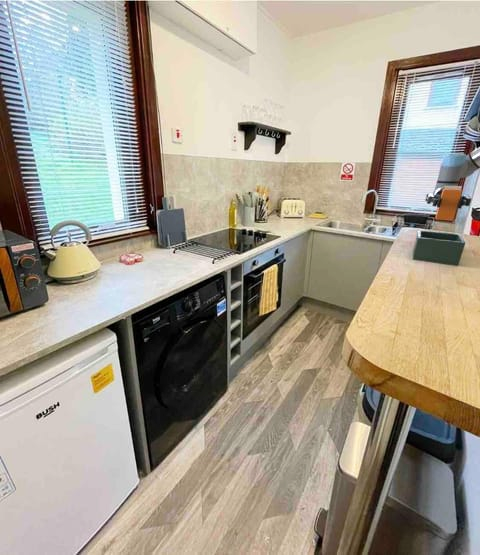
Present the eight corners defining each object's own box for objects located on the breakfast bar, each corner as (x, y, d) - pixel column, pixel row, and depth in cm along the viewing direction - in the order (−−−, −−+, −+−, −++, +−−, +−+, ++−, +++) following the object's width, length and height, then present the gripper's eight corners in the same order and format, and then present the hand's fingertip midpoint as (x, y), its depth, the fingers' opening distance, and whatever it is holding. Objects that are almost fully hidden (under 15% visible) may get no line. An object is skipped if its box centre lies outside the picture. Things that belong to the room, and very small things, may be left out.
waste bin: (454, 255, 97) (460, 234, 94) (458, 265, 87) (465, 242, 84) (413, 250, 103) (418, 230, 100) (412, 259, 93) (418, 237, 90)
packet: (452, 219, 97) (462, 185, 92) (453, 220, 94) (463, 186, 89) (435, 217, 99) (444, 185, 95) (435, 219, 96) (444, 186, 92)
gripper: (471, 208, 105) (481, 217, 87) (416, 204, 114) (415, 212, 96) (477, 187, 102) (489, 193, 84) (421, 185, 111) (420, 190, 93)
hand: (450, 203), depth 90 cm, fingers closed on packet, 5 cm apart
